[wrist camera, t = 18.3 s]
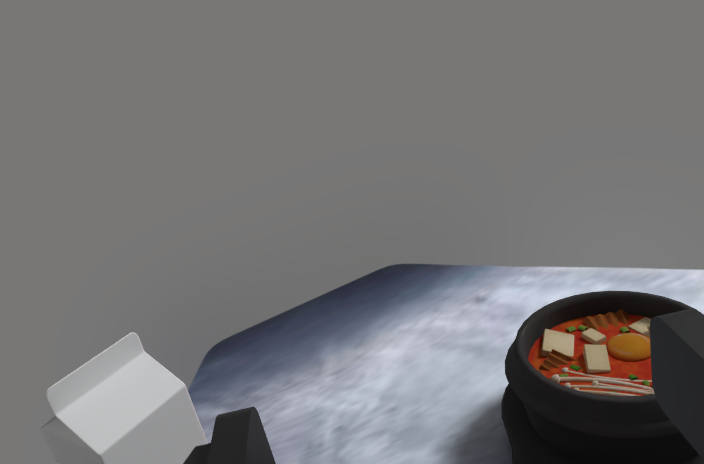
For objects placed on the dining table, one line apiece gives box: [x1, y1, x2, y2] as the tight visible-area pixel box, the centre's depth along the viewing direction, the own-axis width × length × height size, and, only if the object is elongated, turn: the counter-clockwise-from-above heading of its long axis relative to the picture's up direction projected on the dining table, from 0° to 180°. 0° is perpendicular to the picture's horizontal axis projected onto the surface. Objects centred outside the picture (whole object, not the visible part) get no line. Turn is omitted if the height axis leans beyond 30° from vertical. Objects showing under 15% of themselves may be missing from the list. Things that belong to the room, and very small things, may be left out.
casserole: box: [502, 291, 704, 464], centre depth 50 cm, size 25×19×8 cm
